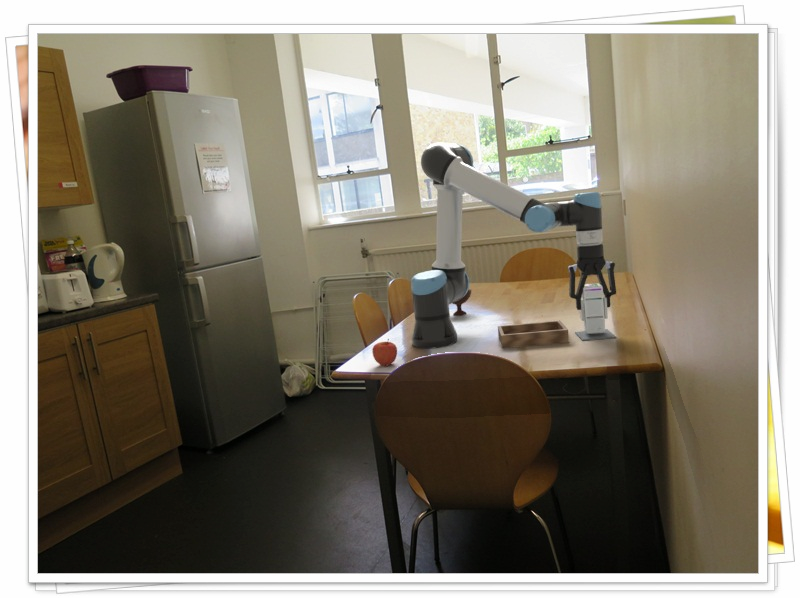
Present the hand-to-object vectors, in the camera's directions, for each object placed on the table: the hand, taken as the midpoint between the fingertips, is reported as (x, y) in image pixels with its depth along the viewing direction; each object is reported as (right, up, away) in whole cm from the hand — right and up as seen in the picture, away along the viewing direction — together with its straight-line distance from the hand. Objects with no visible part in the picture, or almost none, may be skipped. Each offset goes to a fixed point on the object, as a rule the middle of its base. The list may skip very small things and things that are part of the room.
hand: (593, 318), depth 175 cm
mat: (+1, -5, +1) cm, 5 cm away
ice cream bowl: (-35, 0, +55) cm, 66 cm away
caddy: (-18, -7, +4) cm, 20 cm away
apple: (-64, -14, -5) cm, 65 cm away
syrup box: (0, -4, +1) cm, 4 cm away
